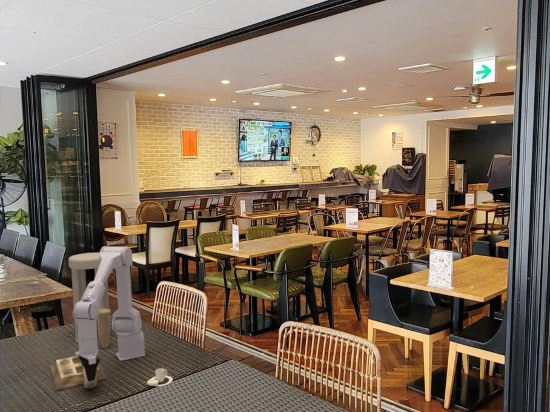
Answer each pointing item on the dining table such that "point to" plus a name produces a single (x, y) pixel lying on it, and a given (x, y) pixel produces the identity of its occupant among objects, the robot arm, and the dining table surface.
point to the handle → (104, 327)
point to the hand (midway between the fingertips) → (90, 377)
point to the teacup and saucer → (159, 378)
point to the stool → (79, 281)
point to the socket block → (71, 373)
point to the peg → (89, 383)
